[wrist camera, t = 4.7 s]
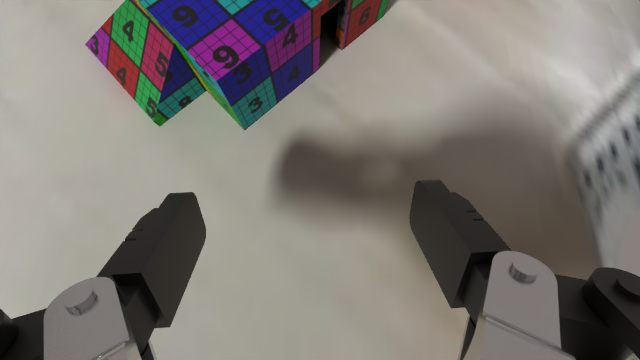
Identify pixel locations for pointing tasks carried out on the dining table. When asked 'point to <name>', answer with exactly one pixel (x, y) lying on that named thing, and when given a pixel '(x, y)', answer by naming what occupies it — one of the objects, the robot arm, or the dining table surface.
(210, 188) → the dining table surface
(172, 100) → the building blocks
